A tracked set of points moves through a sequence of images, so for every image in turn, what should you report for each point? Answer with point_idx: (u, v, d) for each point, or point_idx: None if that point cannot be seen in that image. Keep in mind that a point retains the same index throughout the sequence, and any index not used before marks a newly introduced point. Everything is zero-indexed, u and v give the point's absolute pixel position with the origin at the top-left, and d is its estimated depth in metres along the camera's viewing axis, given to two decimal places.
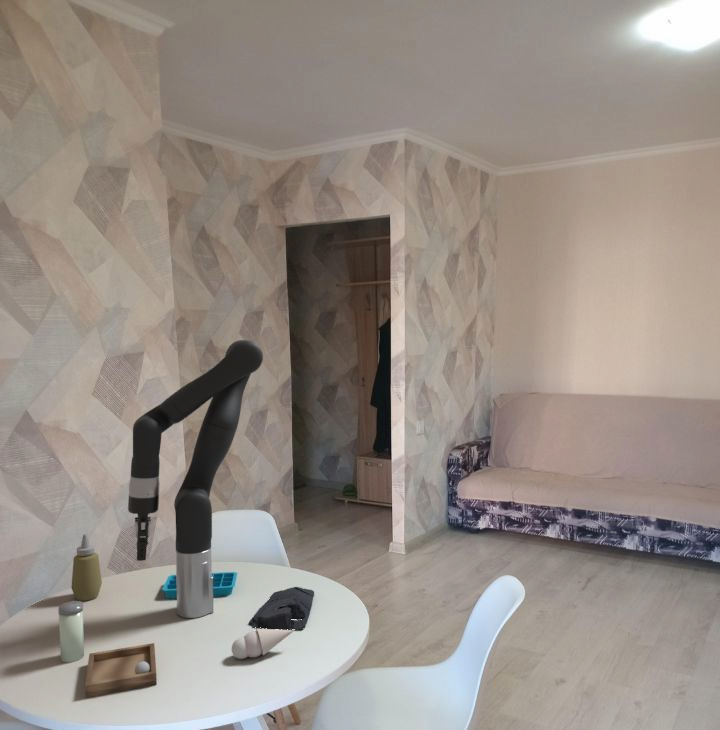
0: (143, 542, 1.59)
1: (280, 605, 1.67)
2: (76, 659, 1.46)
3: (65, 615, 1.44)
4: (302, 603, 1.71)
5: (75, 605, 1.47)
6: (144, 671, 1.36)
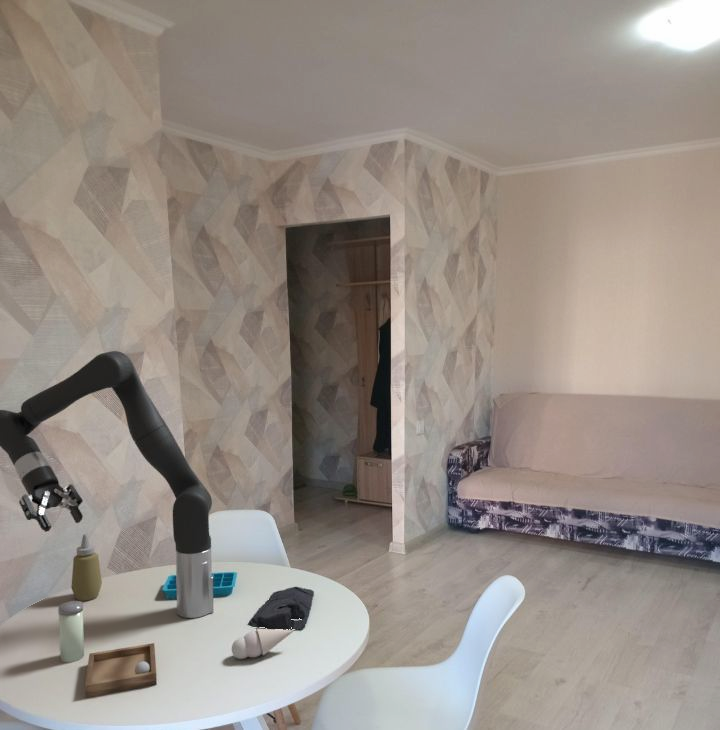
0: (29, 513, 1.54)
1: (280, 605, 1.67)
2: (76, 659, 1.46)
3: (65, 615, 1.44)
4: (301, 603, 1.71)
5: (75, 605, 1.47)
6: (144, 671, 1.36)
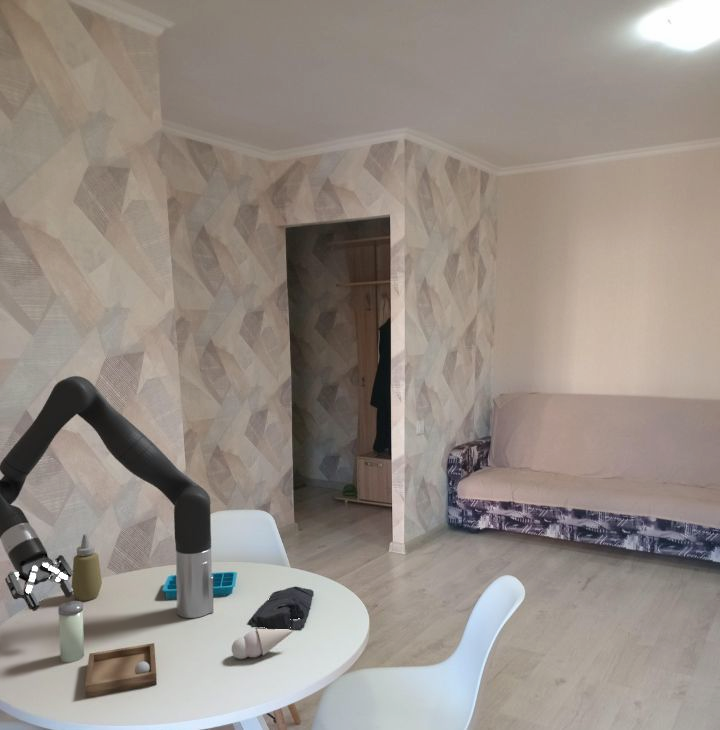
0: (15, 593, 1.46)
1: (279, 605, 1.67)
2: (76, 659, 1.46)
3: (65, 615, 1.44)
4: (301, 602, 1.71)
5: (75, 605, 1.47)
6: (144, 671, 1.36)
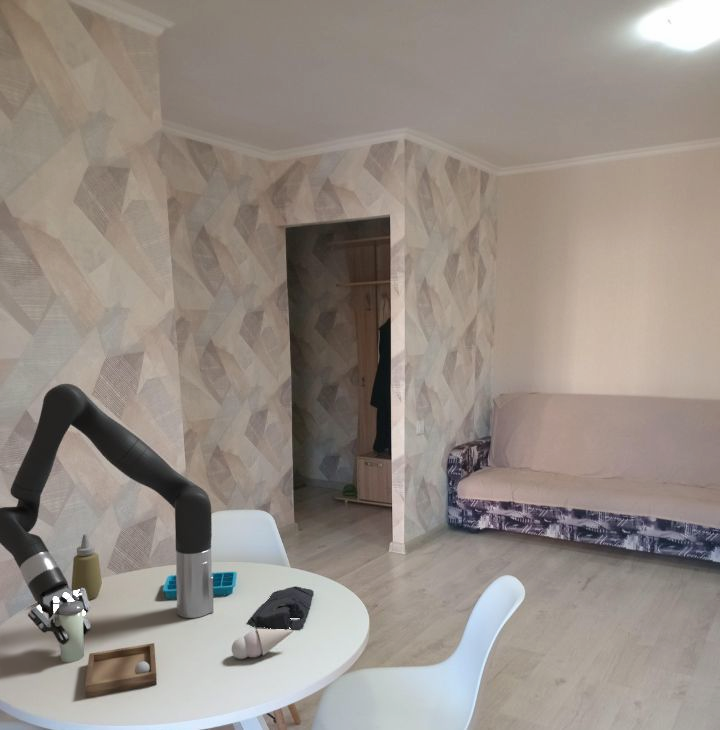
0: (44, 626, 1.43)
1: (279, 604, 1.67)
2: (76, 659, 1.46)
3: (65, 615, 1.44)
4: (300, 602, 1.71)
5: (75, 605, 1.47)
6: (144, 671, 1.36)
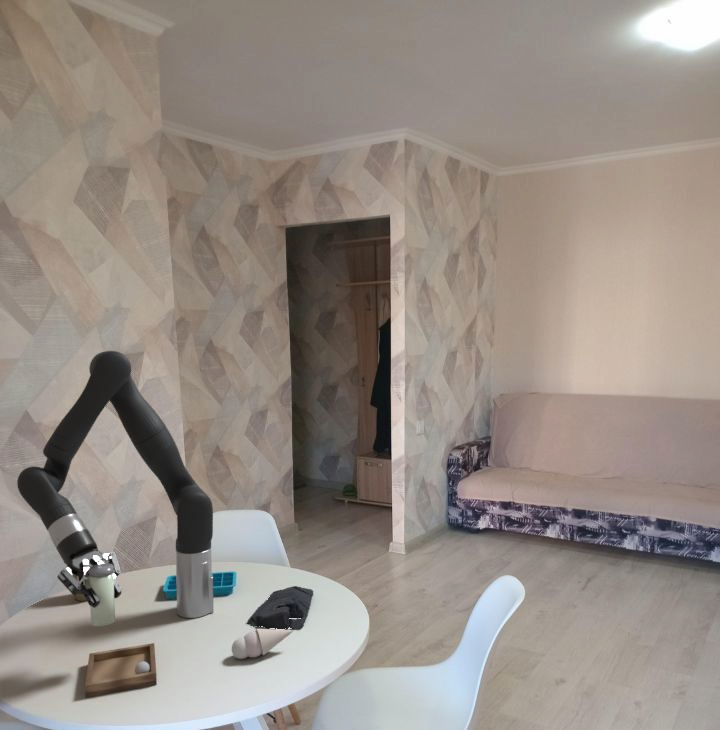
0: (74, 588, 1.38)
1: (278, 604, 1.68)
2: (107, 623, 1.40)
3: (96, 577, 1.39)
4: (300, 602, 1.72)
5: (105, 567, 1.42)
6: (144, 671, 1.36)
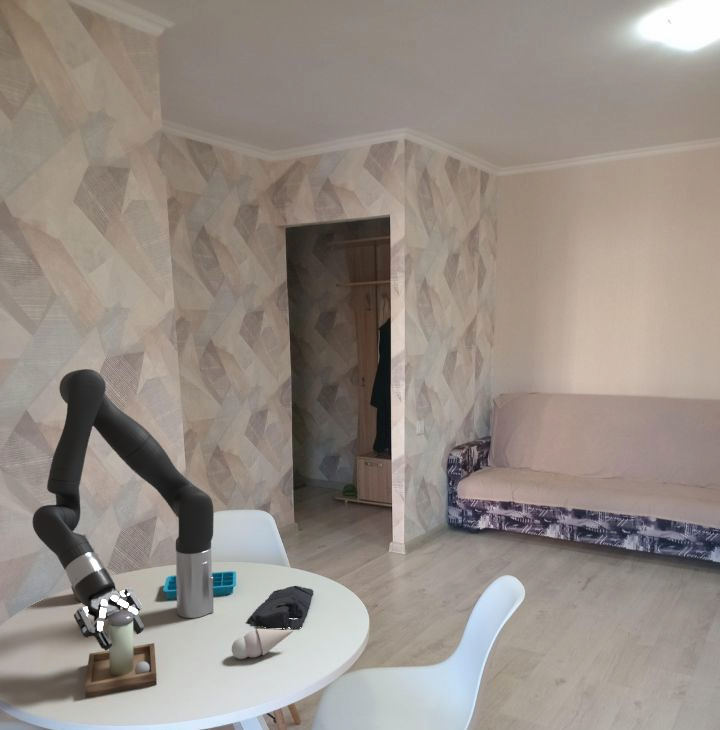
0: (86, 630, 1.35)
1: (278, 604, 1.68)
2: (126, 672, 1.38)
3: (116, 626, 1.37)
4: (300, 602, 1.72)
5: (125, 615, 1.39)
6: (144, 671, 1.36)
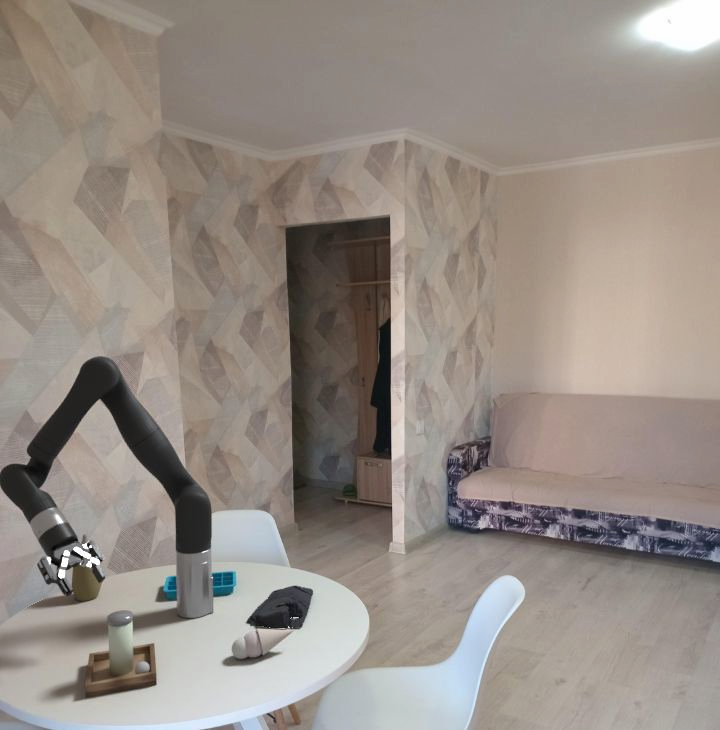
0: (48, 578, 1.43)
1: (278, 603, 1.68)
2: (126, 672, 1.38)
3: (115, 626, 1.37)
4: (300, 601, 1.72)
5: (125, 615, 1.39)
6: (144, 671, 1.36)
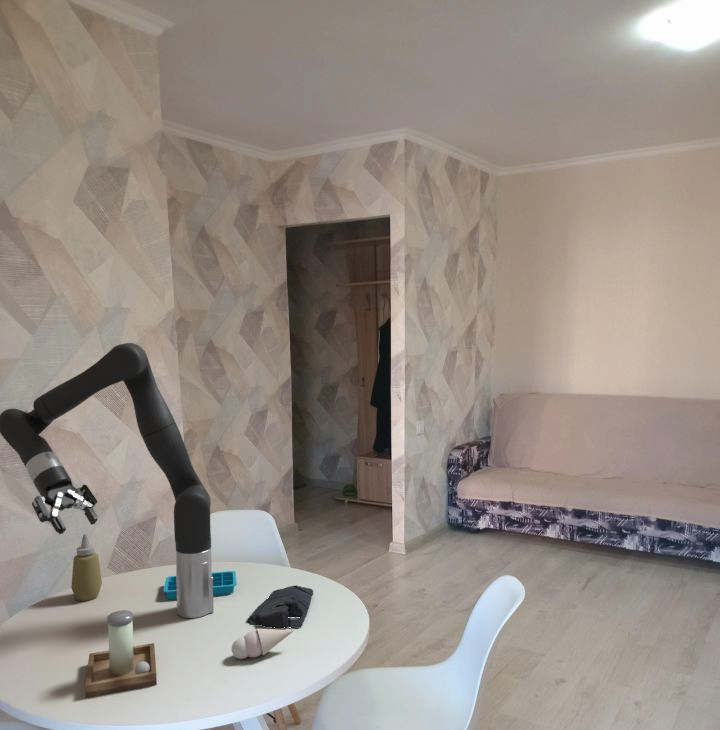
0: (42, 515, 1.48)
1: (278, 603, 1.68)
2: (126, 672, 1.38)
3: (115, 626, 1.37)
4: (300, 601, 1.72)
5: (125, 615, 1.39)
6: (144, 671, 1.36)
